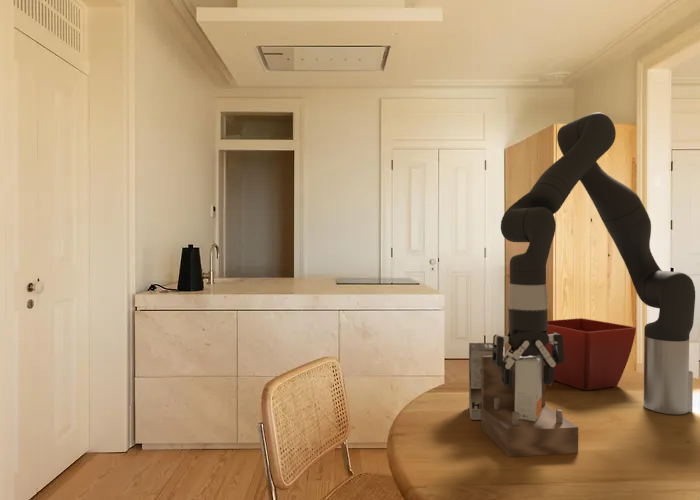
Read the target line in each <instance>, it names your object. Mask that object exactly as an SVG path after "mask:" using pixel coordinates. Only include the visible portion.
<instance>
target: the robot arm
mask: <svg viewBox="0 0 700 500" xmlns="http://www.w3.org/2000/svg"><path fill="white" fill-rule="evenodd" d="M616 133H617V132H616V127H615V124H614V122H613V120H612V119H611V118H610V117H609V116H608V115H607V114H605V113H603V112H593V113H590V114H587V115H584V116H582V117H580V118H578V119H575V120H573V121H570V122H568V123H565V124H564V125H563V126H561V127H560V128H559V130H558V131H557V135H556V137H557V138H556V139H557V144H558V148H559V150H560V152H561V153H562V156H561V157H560V158H558V160H556V161H554V163H552V164H551V165H550V166H549V167H548V168H547V169H546V170H544V172H543V173H542V174H541V176H539V178H538V180H537V181H536V182H535V184H534V185H533V186H532V188H531V189H530V191H529V192H527V193H526V194H524V195H523V196H522V197H520V198H519V199H518V200H517V201H515V202H513V204H511V205H510V207H508V208H507V210H506V211H505V212H504V214H503V216H502V218H501V221H500V231H501V235H502V236H503V238H504V239H505V240H507V241H508V242H512V243H529V244H528V247H527V249H526V251H525V252H524V253H519V254H516V255H513V256H512V257H511V258H510V260H509V287H508V297H507V298H508V309H507V311H508V332H507V335H500V334H494V335H493V336H492V343H493V352H492V362H493V363H494V364H496V365H497V366H501V368H502V382H503V383H504V384H505V386H507V387H512V369H510V368H511V366H512V365H513V364H514V362H515V361H517V360H518V359H519V357H520V356H522V357H527V356H537V355H538V356H540V357H541V358H542V360H543V362H544V363H545V365H544V383H545V385H546V386H552V385H553V383H554V381H555V380H554V367H555V365H557V364H559V363H560V364H562V363H563V362H564V352H563V337H562V335H560V334H558V333H555V332H553V333H552V334H547V328H548V321H549V320H548V315H549V313H548V311H549V310H548V305H549V302H548V298H549V297H548V291H547V263H548V259H549V255H550V252H551V251H550V250H551V247H552V244H553V242H554V238H555V235H556V234H555V233H556V227H557V226H556V219H555V216H554V214H556V213H557V212H558V211H559V210H560V209H561V208H562V206H563V204H564V203H565V201H566V200H567V198H568V197H569V195H570V194H571V192H572V191H573V190H574V188H575V187H576V185H577V184H578V183H579V181H580V182H581V184H582V186H583V187H584V189H585V191H586V192H587V194H588V195H589V198H590V200H591V201H592V204H593V205H594V207H595V209H596V211H597V212H598V215H599V217H600V219H601V221H602V223H603V225H604V226H605V228H606V230H607V232H608V234H609V235H610V237H611V239H612V241H613V243H614V244H615V246H616V249H617V250H618V253H619V254H620V257H621V258H622V261H623V262H624V265H625V267H626V269H627V271H628V274H629V276H630V279H631V282H632V285H633V287H634V290H635V292H636V294H637V296H638V298H639V299H640V301H641V302H642V303H643V304H644V305H646V306H648V307H650V308H655V309H659V310H658V312H659V313H658V318H657V320H655V321H653V322H648V323H646V324H645V325H644V330H643V331H644V334H643V336H644V337H643V343H644V344H643V347H644V348H643V351H644V352H643V353H644V354H643V407H644V408H646V409H647V410H650V411H653V412H657V413H659V414H660V413H661V414H666V415H686V414H688V413H691V412H693V400H694V399H693V396H694V395H693V390H694V389H693V386H694V385H693V384H694V382H693V381H694V373H693V371H692V370H690V333H691V331H692V329H693V326H694V321H695V319H694V318H695V306H696V290H695V289H696V287H695V283H694V281H693V279H692V278H691V276H689V275H688V274H686V273H684V272H680V271H668V270H662V269H661V267H660V266H659V265H658V264H657V262H656V260H655V258H654V255H653V253H652V251H651V247H650V245H651V244H650V241H651V237H652V236H651V234H652V222H651V221H652V220H651V218H650V216H649V214H648V212H647V210H646V207H645V205H644V204H643V202H642V200H641V198H640V197H639V195H638V194H637V193H636V192H635V191H634V190H632V189H631V188H630V187H628V186H627V185H625V184H624V183H622V182H620V181H619V180H617V179H616V178H614V177H612V176H611V175H609V174H608V173H607V172H606V171H604V170H603V169H602V167H601V166H600V164H599V163H598V162H597V161H598V160H599V159H600V158H601V157H603V155H605V153H607V152H608V151H609V150H610V149H611V147H612V146H613V145H614V143H615V140H616ZM548 341H549V342H550V343H551V344H552V357H551V355H550V354H549V352H548V351H547V350H546V348H545V346H546V344H547V343H548ZM507 343H508V344H509V347H508V348H507V350H506V352H505V354H504V348H505V347H506V346H507V345H506V344H507ZM503 355H505V357H504V358H503Z"/></svg>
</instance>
